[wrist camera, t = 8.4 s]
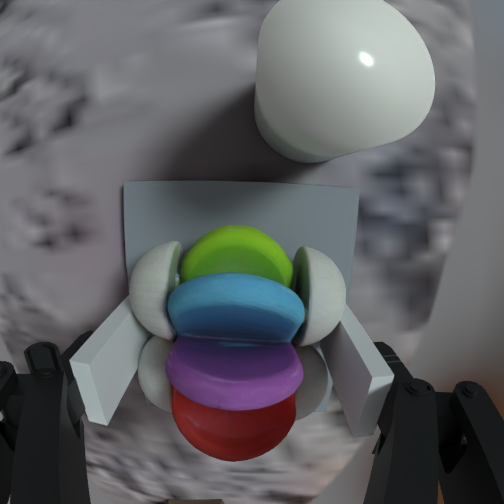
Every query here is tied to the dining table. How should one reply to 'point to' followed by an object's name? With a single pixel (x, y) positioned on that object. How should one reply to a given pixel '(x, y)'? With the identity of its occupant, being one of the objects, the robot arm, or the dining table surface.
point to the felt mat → (243, 220)
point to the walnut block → (195, 501)
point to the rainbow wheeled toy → (235, 336)
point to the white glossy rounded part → (339, 78)
